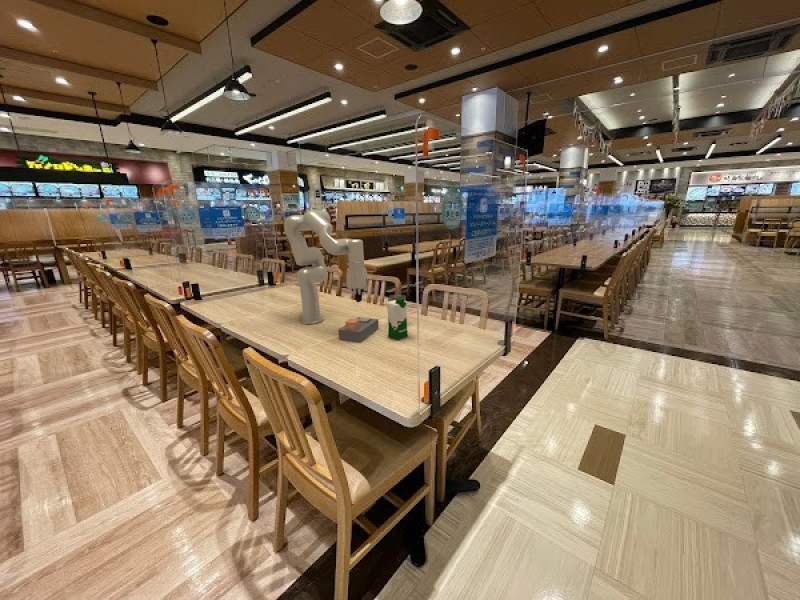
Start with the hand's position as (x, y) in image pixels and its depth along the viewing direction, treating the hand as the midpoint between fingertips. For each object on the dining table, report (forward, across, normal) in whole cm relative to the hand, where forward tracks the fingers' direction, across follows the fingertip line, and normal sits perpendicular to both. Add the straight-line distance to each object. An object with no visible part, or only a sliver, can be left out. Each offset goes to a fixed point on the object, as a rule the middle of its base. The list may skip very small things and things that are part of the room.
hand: (358, 301), depth 160 cm
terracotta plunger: (+13, 0, -7) cm, 15 cm away
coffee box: (+18, +14, +18) cm, 29 cm away
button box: (+17, 0, -1) cm, 17 cm away
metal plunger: (+16, 0, +5) cm, 17 cm away
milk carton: (+18, +20, +1) cm, 27 cm away
